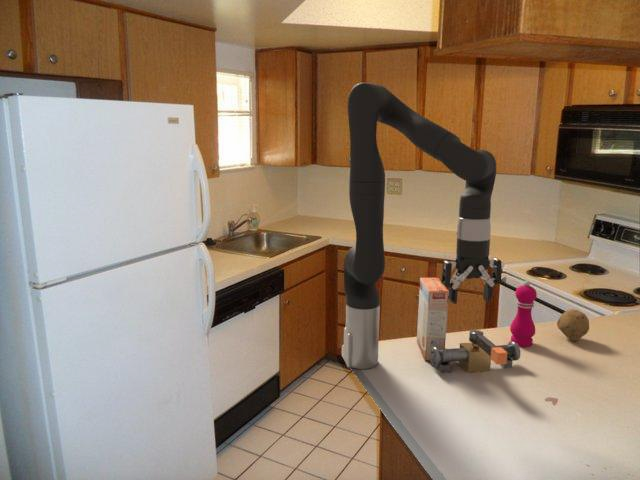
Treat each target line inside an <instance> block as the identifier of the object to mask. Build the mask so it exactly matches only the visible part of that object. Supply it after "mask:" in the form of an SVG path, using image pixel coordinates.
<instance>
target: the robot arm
mask: <svg viewBox="0 0 640 480" xmlns="http://www.w3.org/2000/svg"><path fill="white" fill-rule="evenodd" d="M347 116H348V117H347V118H348V128H349V143H350V144H349V147H350V148H349V188H348V190H349V191H348V193H349V195H348V196H349V197H348V198H349V204H350V209H351V214H352V217H353V223H354V226H355V237H356V238H355V245H353V246H352V247H350V248H349V249H348V250H347V252H346V254H345V256H344V261H343V289H344V295H345V327H344V328H343V356H342V357H343V360H344V362H345V365H346V366H347V368H353V369H359V370H368V369H372V368H375V367H376V366H377V365H378V364H379V341H380V340H379V337H380V335H379V334H380V309H381V307H380V306H381V305H380V304H381V303H380V302H381V300H380V299H381V297H380V292H379V291H378V288H377V284H376V283H377V282H379V280H380V279H382V277H383V275H384V272H385V268H386V259H385V247H384V246H385V245H384V217H385V216H384V215H385V214H384V213H385V197H386V173H385V172H386V171H385V167H384V166H385V165H384V162H383V160H382V157H381V154H380V151H379V146H378V140H377V127H378V126H377V124H378V123H381V124H384V125H386V126H389V127H390V128H391V127H392V128H393V129H395V130H396V131H398V132H399V133H401V134H403V136H404V137H406V138H407V140H409V141H410V143H411V144H413V145H414V146H415V147H416V148H418V149H419V150H420V151H422V152H424V153H425V154H427V155H429V156H430V157H432V158H433V159H435V160H437V161H438V162H439V163H442V164H443V165H444V166H445V167H446V168H447V169H448V170H449V171H451V172H452V174H454V175H456V176H457V177H458V178H460V179H461V180H464V181H465V187H464V191H463V192H462V193H461V195H460V197H459V198H460V199H459V206H458V207H459V208H458V209H459V210H458V220H457V221H458V222H457V231H456V250H455V252H456V255H455V256H456V258H455V260H454V261H448V260H446V259H445V260H443V261H442V271H441V279H440V281H441V283H442V284H443V285H444V286H445V287H446V288H448V291H449V297H448V301H450V303H452V305H453V304H454V305H455V304H458V287H459V286H460V285H461V283H464V281H465V280H471V279H480V278H481V279H482V281H483V282H484V283H485V284H484V285H483V293H482V294H483V296H482V297H483V300H484V301H486V302H491V299H493V291H494V290H493V289H494V286H496V285H497V284H498V285H501V283H502V260H501V259H499V258H496V257H493V258H491V259H490V258H489V256H490V250H491V249H490V247H491V246H490V245H491V232H492V231H491V230H492V228H491V227H492V226H491V209H492V208H491V207H492V195H493V191H494V186H495V182H496V181H495V180H496V175H497V161H496V158H495V156H494V154H493V153H492V152H490V151H489V150H486V149H485V150H484V149H479V150H478V149H477V150H476V149H475V148H474V149H473V148H472V147H470V146H469V145H467V144H466V143H463V142H462V141H461V139H460V137H459V136H457V135H456V134H454V133H453V132H451V131H450V130H449V129H446V128H444V127H443V126H441V125H439V124H438V123H436V122H434V121H433V120H430V119H429V118H426V117H425V116H423V115H421V114H420V113H418V112H416V111H415V110H414V109H412V108H411V107H409V105H406V104H405V103H404V102H402V100H401V99H400V98H398V97H397V96H396V95H394V93H392V92H391V91H390V90H389V89H388V88H387V87H385V86H384V85H382V84H378V83H377V84H375V83H371V82H359V83H357V84H355V85H354V86H353V87H352V89H351V90H350V93H349V94H348V97H347ZM489 267H490V268H491V276H490V274H488V272H487V270H488V268H489ZM454 268H456V270H455V272H454V274H452V271H454ZM451 277H452V278H451Z"/></svg>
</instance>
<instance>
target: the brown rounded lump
mask: <svg viewBox="0 0 640 480" xmlns="http://www.w3.org/2000/svg"><path fill="white" fill-rule="evenodd" d="M556 326H557V328H558V330H560V331H561V332H562V334H563V335H565V337H566V338H567V339H569V340H570V341H573V342H574V341H575V342H576V341H578V340H580V339H582V338H583V337H584V336H585V335H587V334H588V332H589V330H590V321H589V318H588V317H587V315H586V314H585V313H584V312H582V311H581V310H578V309H576V308H571V309H568V310H565V311H564V312H563V313H562V314H561V315H560V316H559V317H558V319H557V321H556Z"/></svg>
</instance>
